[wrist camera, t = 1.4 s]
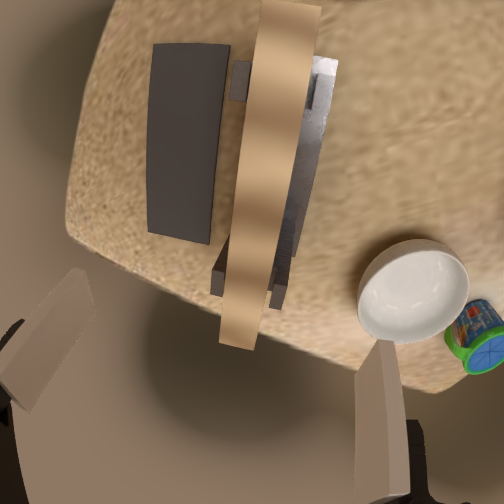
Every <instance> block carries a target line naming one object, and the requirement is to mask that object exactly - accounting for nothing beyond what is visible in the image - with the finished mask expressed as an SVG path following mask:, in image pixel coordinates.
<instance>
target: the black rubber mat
mask: <svg viewBox="0 0 504 504" xmlns="http://www.w3.org/2000/svg"><path fill="white" fill-rule="evenodd" d="M230 47H231V45H223V44H200V43H167V44H154V45H153V54H152V63H151V74H150V86H149V101H148V119H147V152H146V190H147V224H148V232H151V233H155V234H160V235H164V236H169V237H174V238H178V239H183V240H187V241H192V242H197V243H201V244H206V245H209V243H210V231H211V218H212V206H213V194H214V183H215V172H216V162H217V152H218V142H219V133H220V124H221V115H222V107H223V99H224V91H225V83H226V75H227V68H228V61H229V54H230Z"/></svg>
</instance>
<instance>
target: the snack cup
mask: <svg viewBox="0 0 504 504" xmlns="http://www.w3.org/2000/svg"><path fill="white" fill-rule="evenodd" d="M457 328H458V333H459V338H460V343H461V346H459V345H458V344H457V342H456V341H455V339H454V338H453V336H452V329H451V325H449V326H448V327H447V329H446V331H445V335H444V339H445V342H446V344H447V345H448V347H449V349H450V350H451V351H452V353H453V354H454V355H455V356H456V357H457V358H459V359H460V360H462V362H463V367H464V369H465V371H466V372H467V373H469V374H481V373H485V372H487V371H489V370H492V369H493V368H495V367H497V366H498V365H499V364H501V363H502V362H503V361H504V321H503V320H502V319H501V317H500V316H499V315H498V314H497V312H496V311H495V310H494V308H493V307H492V306H491V305H490V304H489V303H488V302H487V301H483V300H479V301H474V302H471V303H470V304H469V305H467V306H466V307H465V308H464V309H463V310H462V312H461V313H460V314H459V316H458V318H457Z"/></svg>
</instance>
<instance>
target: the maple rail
mask: <svg viewBox="0 0 504 504" xmlns="http://www.w3.org/2000/svg"><path fill="white" fill-rule="evenodd" d="M321 8H322V7H319V6H314V5H308V4H302V3H296V2H289V1H281V0H263V1H262V7H261V14H260V20H259V26H258V32H257V39H256V45H255V52H254V58H253V65H252V71H251V78H250V85H249V92H248V99H247V106H246V113H245V121H244V128H243V135H242V143H241V150H240V158H239V166H238V174H237V182H236V190H235V198H234V206H233V215H232V223H231V232H230V241H229V250H228V259H227V268H226V278H225V287H224V297H223V307H222V317H221V327H220V338H219V342H220V343H224V344H227V345H232V346H236V347H240V348H244V349H249V350H254V346H255V342H256V338H257V333H258V329H259V325H260V320H261V316H262V312H263V307H264V303H265V298H266V294H267V289H268V285H269V280H270V276H271V271H272V266H273V262H274V257H275V252H276V248H277V243H278V238H279V234H280V229H281V224H282V219H283V214H284V210H285V205H286V200H287V195H288V190H289V185H290V180H291V175H292V170H293V165H294V160H295V155H296V149H297V144H298V139H299V134H300V129H301V123H302V118H303V113H304V107H305V102H306V96H307V91H308V85H309V80H310V74H311V68H312V62H313V57H314V51H315V45H316V39H317V33H318V27H319V21H320V14H321Z"/></svg>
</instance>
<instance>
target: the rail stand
mask: <svg viewBox="0 0 504 504" xmlns="http://www.w3.org/2000/svg"><path fill="white" fill-rule="evenodd" d="M337 64H338V60H333V59H329V58H324V57H320V56H315V55H314V57H313V62H312V68H311V74H310V80H309V85H308V91H307V96H306V102H305V107H304V113H303V118H302V123H301V129H300V134H299V139H298V144H297V149H296V155H295V160H294V165H293V170H292V175H291V180H290V185H289V190H288V195H287V200H286V205H285V210H284V214H283V219H282V224H281V229H280V234H279V238H278V243H277V248H276V252H275V257H274V262H273V266H272V271H271V276H270V280H269V285H268V289H267V290H269V291H272V294H271V299H270V304H269V308H273V309H277V310H281V308H282V304H283V301H284V297H285V294H286V290H287V286H288V279H289V271H290V264H291V257H295V255H296V251H297V247H298V243H299V239H300V235H301V231H302V227H303V223H304V219H305V215H306V210H307V206H308V202H309V198H310V194H311V189H312V185H313V181H314V176H315V172H316V167H317V163H318V159H319V154H320V149H321V145H322V140H323V135H324V131H325V126H326V121H327V117H328V114H329V109H330V104H331V99H332V94H333V88H334V83H335V78H336V77H335V75H336V70H337ZM252 65H253V62H248V61H238V60H234V64H233V71H232V78H231V86H230V93H229V100H235V101H243V102H246V101H247V99H248V92H249V85H250V78H251V71H252ZM229 241H230V234H229V236H228V238H227V240H226V242H225V244H224V246H223V249H222V251H221V253H220V255H219V257H218V259H217V261H216V263H215V265H214V267H213V269H212V276H211V291H210V294H212V295H216V296H220V297H222V296H223V294H224V287H225V278H226V268H227V259H228V250H229Z"/></svg>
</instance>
